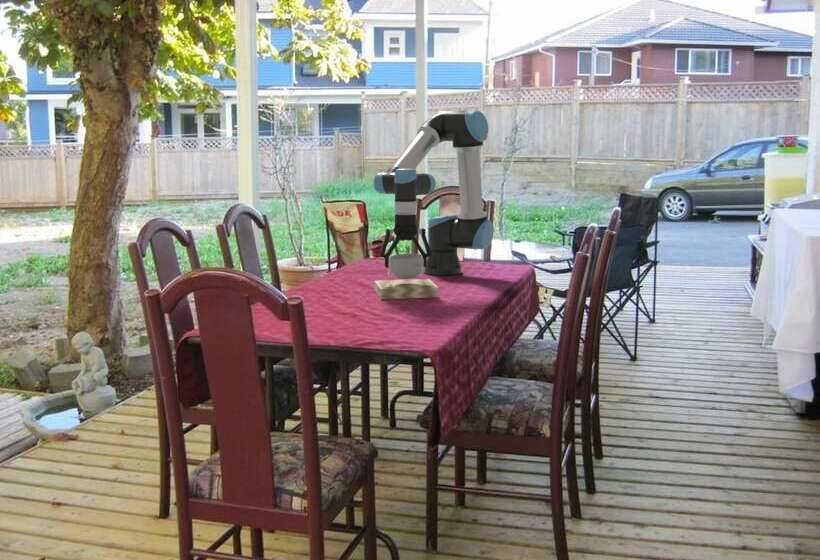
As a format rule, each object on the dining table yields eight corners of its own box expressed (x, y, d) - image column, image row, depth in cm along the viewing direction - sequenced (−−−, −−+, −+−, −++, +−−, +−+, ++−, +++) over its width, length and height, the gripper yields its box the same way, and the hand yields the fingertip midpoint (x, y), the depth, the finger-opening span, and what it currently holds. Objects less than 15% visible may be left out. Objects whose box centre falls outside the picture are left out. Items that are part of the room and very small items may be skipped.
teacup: (418, 280, 301) (418, 257, 300) (387, 279, 303) (387, 256, 302) (425, 274, 315) (425, 252, 313) (395, 273, 317) (395, 251, 315)
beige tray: (429, 288, 320) (429, 278, 319) (438, 297, 302) (438, 286, 302) (374, 290, 317) (374, 280, 316) (380, 299, 299) (380, 288, 299)
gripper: (436, 212, 311) (436, 274, 314) (370, 213, 307) (371, 275, 311) (440, 214, 303) (440, 277, 307) (373, 215, 300) (373, 279, 303)
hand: (405, 276), depth 309 cm, fingers closed on teacup, 11 cm apart
